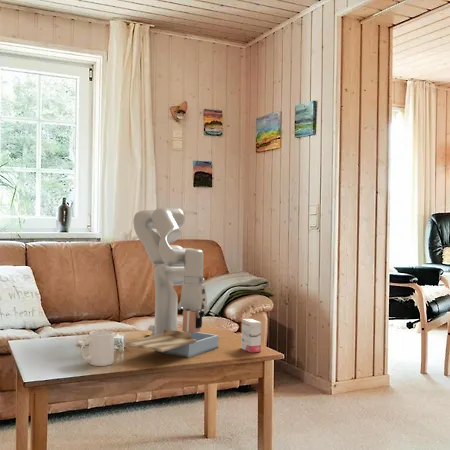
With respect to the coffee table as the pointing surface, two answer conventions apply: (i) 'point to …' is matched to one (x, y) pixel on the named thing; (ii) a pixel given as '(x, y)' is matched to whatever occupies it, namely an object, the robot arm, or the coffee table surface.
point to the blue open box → (196, 345)
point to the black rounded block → (83, 341)
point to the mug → (100, 348)
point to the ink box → (251, 335)
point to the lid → (164, 341)
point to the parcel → (190, 321)
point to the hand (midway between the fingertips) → (192, 326)
